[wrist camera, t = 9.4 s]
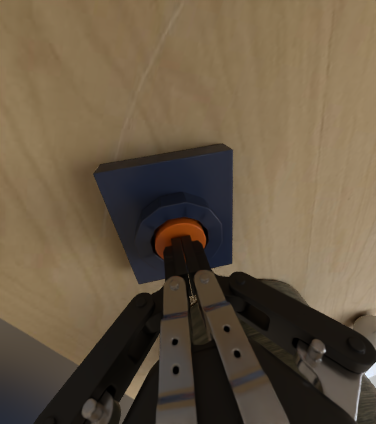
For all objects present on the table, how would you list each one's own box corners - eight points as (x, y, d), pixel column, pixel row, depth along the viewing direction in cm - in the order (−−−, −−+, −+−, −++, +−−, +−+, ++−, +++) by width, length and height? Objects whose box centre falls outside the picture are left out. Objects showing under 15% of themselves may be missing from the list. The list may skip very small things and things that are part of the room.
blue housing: (99, 164, 15) (84, 184, 11) (223, 143, 15) (243, 155, 12) (139, 268, 21) (137, 300, 18) (225, 249, 22) (239, 277, 18)
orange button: (149, 216, 15) (149, 229, 13) (199, 206, 15) (204, 218, 14) (160, 253, 17) (160, 267, 16) (202, 243, 17) (207, 257, 16)
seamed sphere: (385, 304, 37) (431, 345, 31) (365, 325, 41) (403, 365, 35) (342, 311, 36) (382, 356, 29) (326, 332, 39) (358, 375, 33)
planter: (268, 350, 39) (358, 543, 22) (162, 361, 33) (174, 631, 17) (328, 277, 29) (590, 539, 12) (188, 275, 23) (297, 777, 6)
